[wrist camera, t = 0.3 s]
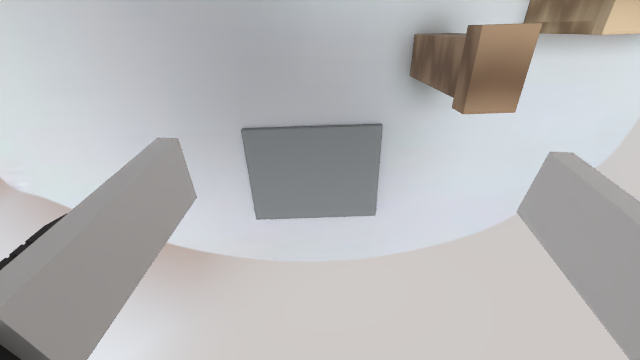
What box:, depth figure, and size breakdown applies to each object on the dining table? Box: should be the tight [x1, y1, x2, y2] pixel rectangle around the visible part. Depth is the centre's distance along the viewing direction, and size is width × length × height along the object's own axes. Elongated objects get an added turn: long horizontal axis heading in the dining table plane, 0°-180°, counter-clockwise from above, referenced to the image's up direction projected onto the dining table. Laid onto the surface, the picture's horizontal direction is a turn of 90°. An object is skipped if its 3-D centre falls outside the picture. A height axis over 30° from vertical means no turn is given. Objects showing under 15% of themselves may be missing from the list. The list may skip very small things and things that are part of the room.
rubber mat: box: [241, 124, 383, 220], centre depth 39 cm, size 14×18×1 cm
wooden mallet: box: [410, 23, 542, 114], centre depth 26 cm, size 6×4×14 cm, turn 2°
